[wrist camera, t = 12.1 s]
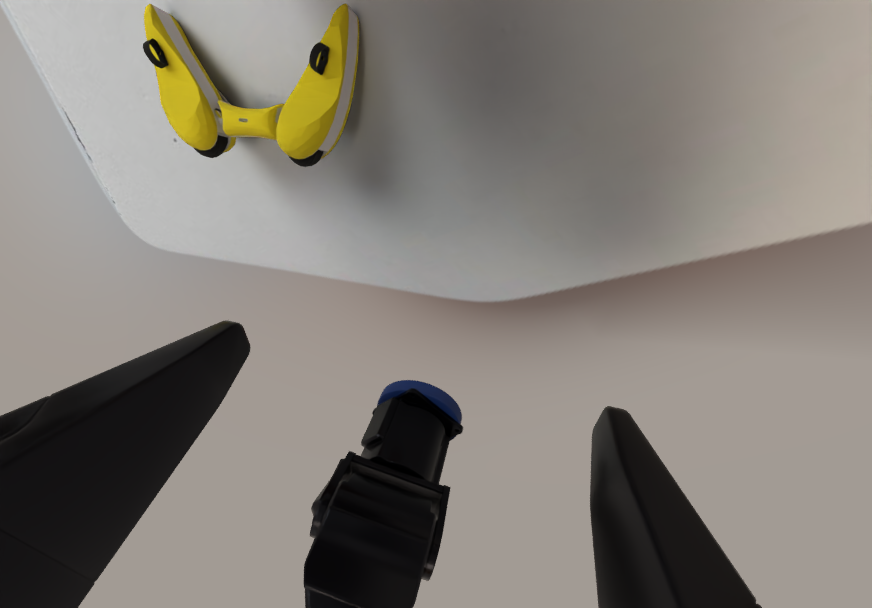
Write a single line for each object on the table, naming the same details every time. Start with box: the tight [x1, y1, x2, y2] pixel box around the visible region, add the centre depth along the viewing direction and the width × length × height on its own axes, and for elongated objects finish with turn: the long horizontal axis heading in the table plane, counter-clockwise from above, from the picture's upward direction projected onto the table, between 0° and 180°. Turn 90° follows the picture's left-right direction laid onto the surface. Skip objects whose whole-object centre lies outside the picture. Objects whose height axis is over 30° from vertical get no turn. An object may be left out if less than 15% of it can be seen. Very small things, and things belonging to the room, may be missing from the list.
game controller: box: [143, 4, 359, 167], centre depth 17 cm, size 10×6×4 cm, turn 90°
